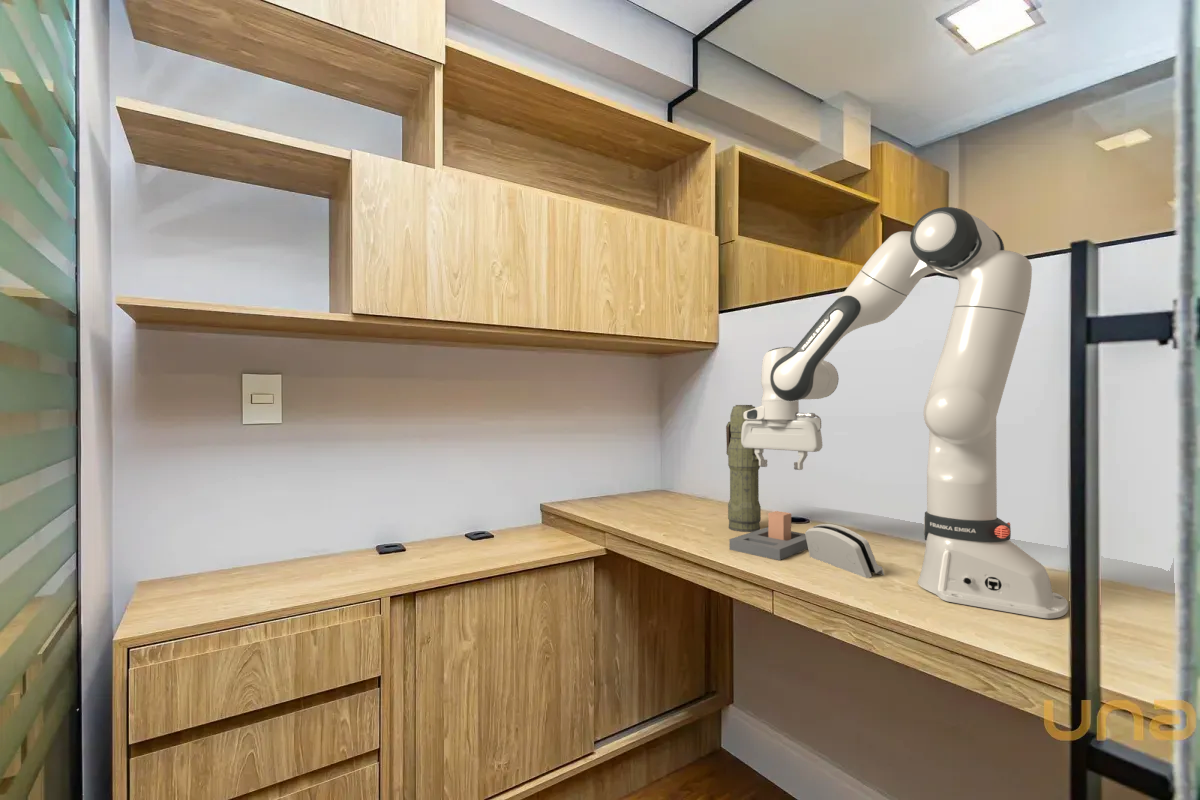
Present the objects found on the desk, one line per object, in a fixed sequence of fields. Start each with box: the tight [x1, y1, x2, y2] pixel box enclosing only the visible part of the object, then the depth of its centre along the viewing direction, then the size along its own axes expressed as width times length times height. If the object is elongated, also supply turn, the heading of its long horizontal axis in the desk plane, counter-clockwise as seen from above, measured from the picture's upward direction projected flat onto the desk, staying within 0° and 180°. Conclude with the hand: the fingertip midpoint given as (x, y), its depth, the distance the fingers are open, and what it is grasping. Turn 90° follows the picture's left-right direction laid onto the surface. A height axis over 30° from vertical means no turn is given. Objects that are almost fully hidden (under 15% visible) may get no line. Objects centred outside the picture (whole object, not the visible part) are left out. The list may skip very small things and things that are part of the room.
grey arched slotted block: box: [804, 523, 885, 579], centre depth 119 cm, size 17×5×10 cm, turn 20°
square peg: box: [767, 510, 792, 541], centre depth 136 cm, size 4×4×8 cm
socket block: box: [729, 527, 808, 561], centre depth 134 cm, size 13×18×2 cm
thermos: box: [725, 404, 762, 533], centre depth 155 cm, size 9×12×35 cm
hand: (780, 468), depth 136 cm, fingers open, 8 cm apart
